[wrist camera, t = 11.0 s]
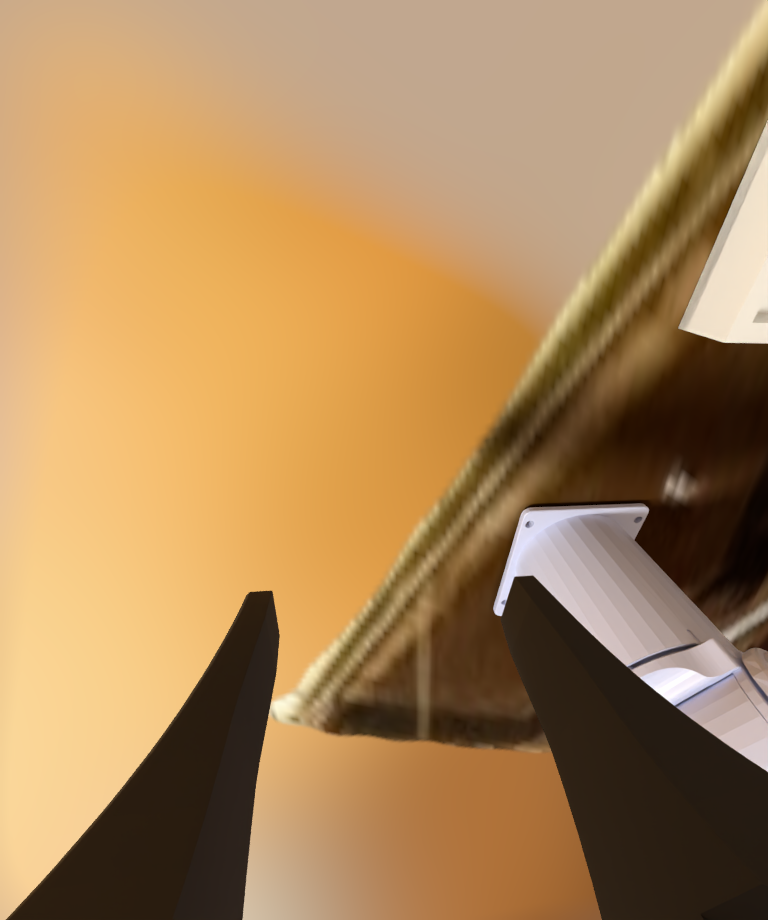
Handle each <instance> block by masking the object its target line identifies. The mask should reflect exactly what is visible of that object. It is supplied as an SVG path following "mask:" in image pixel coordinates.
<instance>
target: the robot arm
mask: <svg viewBox="0 0 768 920" xmlns="http://www.w3.org/2000/svg"><path fill="white" fill-rule="evenodd" d="M648 512H649V508H648V507H647V506H646V505H644V504H641V503H639V504H612V505H585V506H558V507H531V508H527V509H525V510H524V511H523V512H522V514H521V516H520V520H519V523H518V527H517V530H516V533H515V537H514V540H513V543H512V547H511V550H510V554H509V557H508V560H507V564H506V567H505V570H504V574H503V577H502V581H501V584H500V587H499V591H498V594H497V597H496V601H495V604H494V608H493V610H494V612H495V614H496V615H498V616H502V617H501V622H502V626H503V629H504V633H505V636H506V640H507V643H508V646H509V649H510V652H511V655H512V658H513V660H514V662H515V665H516V667H517V670H518V672H519V674H520V677H521V679H522V681H523V684H524V686H525V688H526V691H527V693H528V695H529V698H530V700H531V702H532V705H533V707H534V709H535V712H536V714H537V716H538V719H539V721H540V723H541V726H542V728H543V730H544V733H545V735H546V738H547V740H548V743H549V745H550V748H551V751H552V753H553V756H554V759H555V762H556V766H557V768H558V771H559V775H560V777H561V781H562V784H563V786H564V789H565V793H566V796H567V799H568V802H569V806H570V809H571V812H572V815H573V818H574V822H575V825H576V828H577V831H578V834H579V838H580V841H581V845H582V848H583V852H584V855H585V859H586V862H587V866H588V869H589V873H590V876H591V879H592V883H593V887H594V891H595V895H596V898H597V902H598V906H599V910H600V914H601V918H602V920H768V652H767V651H765V650H763V649H760V648H751V649H749V650H748V651H746V652H744V653H743V652H741V651H739V650H737V649H736V648H735V647H734V646H733V645H732V643H731V642H730V641H729V640H728V639H727V638H726V637H725V636H724V635H723V634H722V633H721V632H720V631H719V630H718V629H717V628H716V626H715V625H714V624H713V623H712V622H711V621H710V620H709V619H708V618H707V617H706V616H705V615H704V614H703V613H702V612H701V611H700V609H699V608H698V607H697V606H696V605H695V604H694V603H693V602H692V601H691V600H690V599H689V598H688V597H687V596H686V595H685V594H684V592H683V591H682V590H681V589H680V588H679V587H678V586H677V585H676V584H675V583H674V582H673V581H672V580H671V579H670V578H669V577H668V575H667V574H666V573H665V572H664V571H663V570H662V569H661V568H660V567H659V566H658V565H657V564H656V563H655V562H654V561H653V560H652V558H651V557H650V556H649V555H648V554H647V553H646V552H645V551H644V550H643V549H642V548H641V547H640V546H639V545H638V544H637V542H636V541H635V538H636V536H637V534H638V532H639V530H640V528H641V526H642V524H643V522H644V520H645V518H646V517H647V515H648ZM529 521H530V522H529ZM527 522H529V523H527ZM278 647H279V629H278V623H277V617H276V610H275V605H274V598H273V592H272V591H260V592H250V593H249V594H247V595H246V598H245V600H244V602H243V604H242V606H241V608H240V610H239V612H238V614H237V616H236V618H235V620H234V622H233V624H232V626H231V628H230V629H229V631H228V633H227V635H226V637H225V639H224V641H223V642H222V644H221V646H220V647H219V649H218V651H217V653H216V654H215V656H214V658H213V659H212V661H211V663H210V664H209V666H208V668H207V669H206V671H205V673H204V674H203V676H202V677H201V679H200V680H199V682H198V684H197V685H196V687H195V688H194V690H193V691H192V693H191V694H190V696H189V697H188V699H187V700H186V702H185V703H184V705H183V707H182V708H181V710H180V711H179V712H178V714H177V716H176V717H175V718H174V720H173V721H172V722H171V724H170V725H169V727H168V728H167V730H166V731H165V733H164V734H163V735H162V736H161V738H160V739H159V741H158V742H157V743H156V745H155V746H154V747H153V749H152V750H151V752H150V753H149V754H148V755H147V757H146V758H145V759H144V761H143V762H142V763H141V764H140V766H139V767H138V768H137V769H136V771H135V772H134V773H133V775H132V776H131V777H130V778H129V780H128V781H127V782H126V784H125V785H124V786H123V787H122V789H121V790H120V791H119V792H118V793H117V795H116V796H115V797H114V798H113V800H112V801H111V802H110V803H109V805H108V806H107V807H106V808H105V809H104V811H103V812H102V813H101V814H100V815H99V817H98V818H97V819H96V820H95V821H94V822H93V823H92V825H91V826H90V827H89V828H88V829H87V830H86V832H85V833H84V834H83V835H82V836H81V837H80V838H79V840H78V841H77V842H76V843H75V844H74V845H73V846H72V848H71V849H70V850H69V851H68V852H67V853H66V855H65V856H64V857H63V858H62V859H61V860H60V862H59V863H58V864H57V865H56V866H55V867H54V869H52V871H51V872H50V873H49V874H48V875H47V876H46V877H45V878H44V880H43V881H42V882H41V883H40V884H39V885H38V886H37V887H36V888H35V889H34V890H33V891H32V892H31V893H30V895H29V896H28V897H27V898H26V899H25V900H24V901H23V902H22V903H21V904H20V905H19V906H18V907H17V908H16V910H15V911H14V912H13V913H12V914H11V915H10V916H9V917H8V918H7V919H6V920H242V918H243V906H244V896H245V885H246V875H247V864H248V855H249V845H250V835H251V825H252V816H253V807H254V798H255V789H256V781H257V775H258V768H259V762H260V757H261V751H262V746H263V741H264V736H265V730H266V725H267V720H268V714H269V709H270V704H271V699H272V693H273V687H274V682H275V677H276V669H277V659H278Z"/></svg>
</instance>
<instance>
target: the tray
mask: <svg viewBox="0 0 768 920" xmlns="http://www.w3.org/2000/svg"><path fill="white" fill-rule="evenodd" d="M678 328H679V329H682V330H685V331H688V332H692V333H695V334H698V335H701V336H704V337H708V338H711V339H714V340H717V341H721V342H724V343H768V121H767V123H766V126H765V128H764V130H763V133H762V135H761V137H760V140H759V142H758V144H757V147H756V149H755V151H754V154H753V156H752V158H751V161H750V163H749V165H748V168H747V170H746V172H745V174H744V177H743V179H742V181H741V184H740V186H739V188H738V191H737V193H736V195H735V198H734V200H733V202H732V205H731V207H730V209H729V212H728V214H727V216H726V219H725V221H724V223H723V225H722V228H721V230H720V232H719V235H718V237H717V239H716V242H715V244H714V246H713V249H712V251H711V253H710V256H709V258H708V260H707V263H706V265H705V267H704V270H703V272H702V274H701V276H700V279H699V281H698V283H697V286H696V288H695V290H694V293H693V295H692V297H691V300H690V302H689V304H688V307H687V309H686V311H685V314H684V316H683V318H682V321H681V323H680V325H679V327H678Z"/></svg>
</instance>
